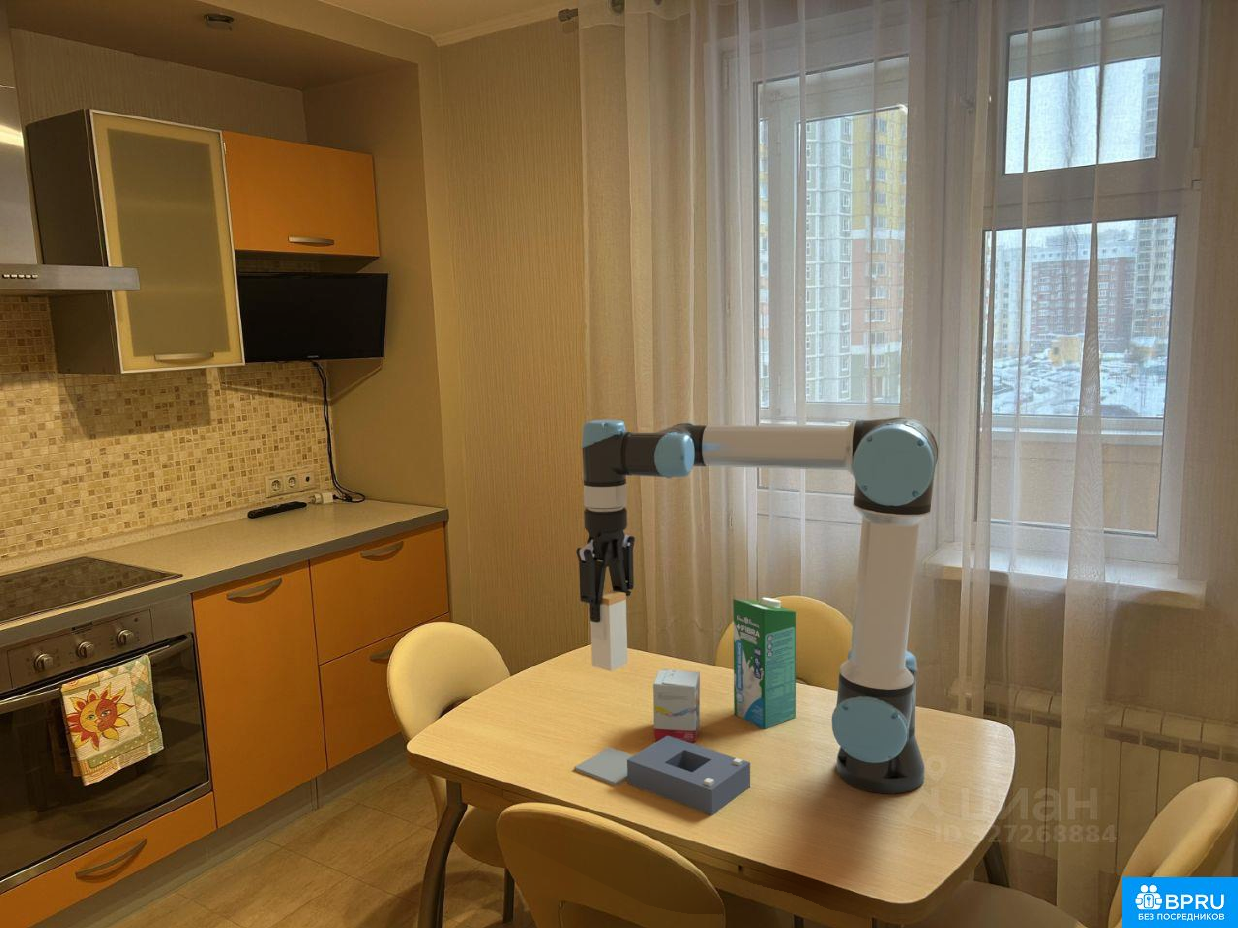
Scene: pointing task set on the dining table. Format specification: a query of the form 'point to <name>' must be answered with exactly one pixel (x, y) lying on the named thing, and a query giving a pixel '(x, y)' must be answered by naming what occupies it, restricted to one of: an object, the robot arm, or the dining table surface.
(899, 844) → the dining table surface
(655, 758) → the grey square-hole block
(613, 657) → the plug
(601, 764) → the mat
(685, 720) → the ink box
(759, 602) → the milk carton
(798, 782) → the dining table surface
